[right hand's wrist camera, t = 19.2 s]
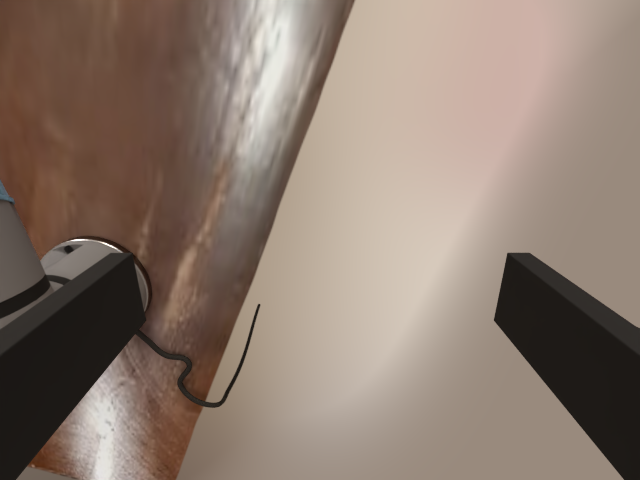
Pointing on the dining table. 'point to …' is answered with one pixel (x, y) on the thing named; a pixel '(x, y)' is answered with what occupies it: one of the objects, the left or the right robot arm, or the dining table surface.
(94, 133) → the dining table surface
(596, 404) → the right robot arm
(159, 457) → the dining table surface
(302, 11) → the dining table surface
